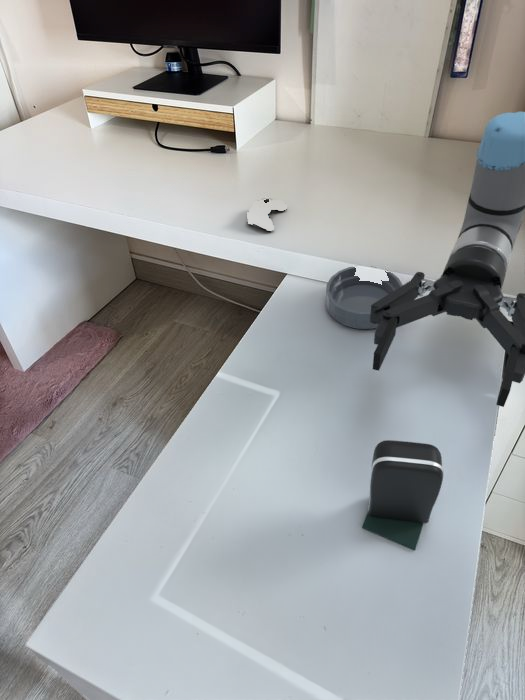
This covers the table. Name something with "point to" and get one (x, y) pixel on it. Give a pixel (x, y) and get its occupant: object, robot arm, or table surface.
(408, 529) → the mat
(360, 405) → the table surface
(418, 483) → the battery charger
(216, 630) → the table surface
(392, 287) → the bowl
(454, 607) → the table surface
